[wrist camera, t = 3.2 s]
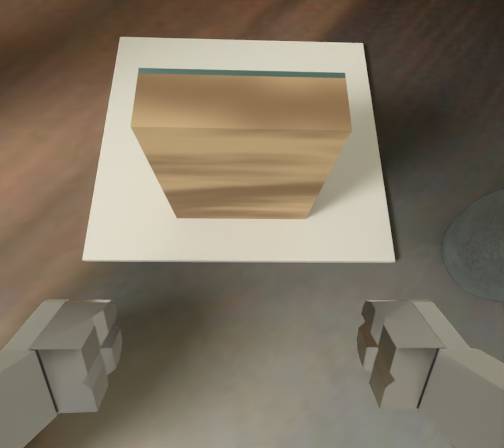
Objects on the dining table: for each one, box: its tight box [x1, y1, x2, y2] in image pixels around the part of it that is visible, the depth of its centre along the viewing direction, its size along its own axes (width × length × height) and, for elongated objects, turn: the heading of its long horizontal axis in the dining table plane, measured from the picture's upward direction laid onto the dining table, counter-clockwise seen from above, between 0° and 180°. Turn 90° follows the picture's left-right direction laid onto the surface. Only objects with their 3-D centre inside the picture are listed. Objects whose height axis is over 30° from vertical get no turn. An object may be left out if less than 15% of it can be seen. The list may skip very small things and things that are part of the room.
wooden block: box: [131, 68, 352, 219], centre depth 25 cm, size 4×12×14 cm, turn 90°
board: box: [82, 37, 395, 263], centre depth 35 cm, size 26×28×1 cm
